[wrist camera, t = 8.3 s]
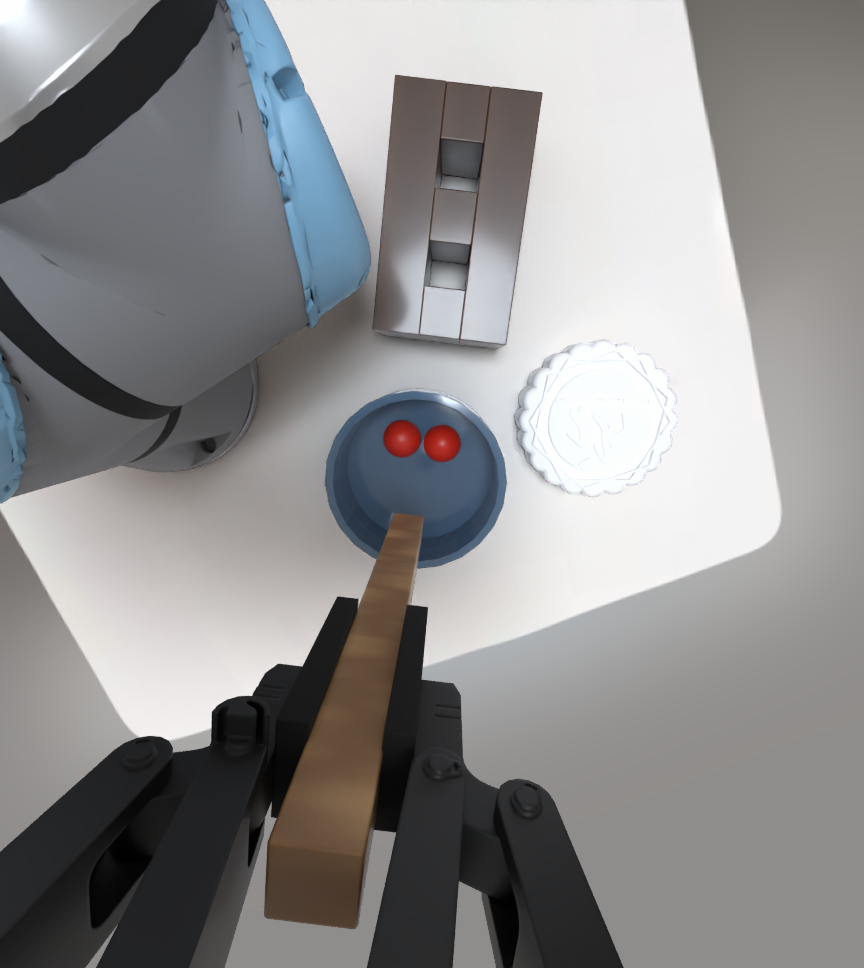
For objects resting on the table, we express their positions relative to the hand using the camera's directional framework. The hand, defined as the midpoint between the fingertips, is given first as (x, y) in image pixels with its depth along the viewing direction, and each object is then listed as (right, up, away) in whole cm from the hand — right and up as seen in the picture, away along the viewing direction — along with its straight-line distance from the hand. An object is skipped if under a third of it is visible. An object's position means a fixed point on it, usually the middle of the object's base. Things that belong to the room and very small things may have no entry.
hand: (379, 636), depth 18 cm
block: (+4, +24, +20) cm, 32 cm away
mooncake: (+15, +11, +23) cm, 30 cm away
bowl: (+1, +7, +24) cm, 25 cm away
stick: (0, +3, +13) cm, 13 cm away
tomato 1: (0, +9, +22) cm, 24 cm away
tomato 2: (+3, +9, +22) cm, 24 cm away
